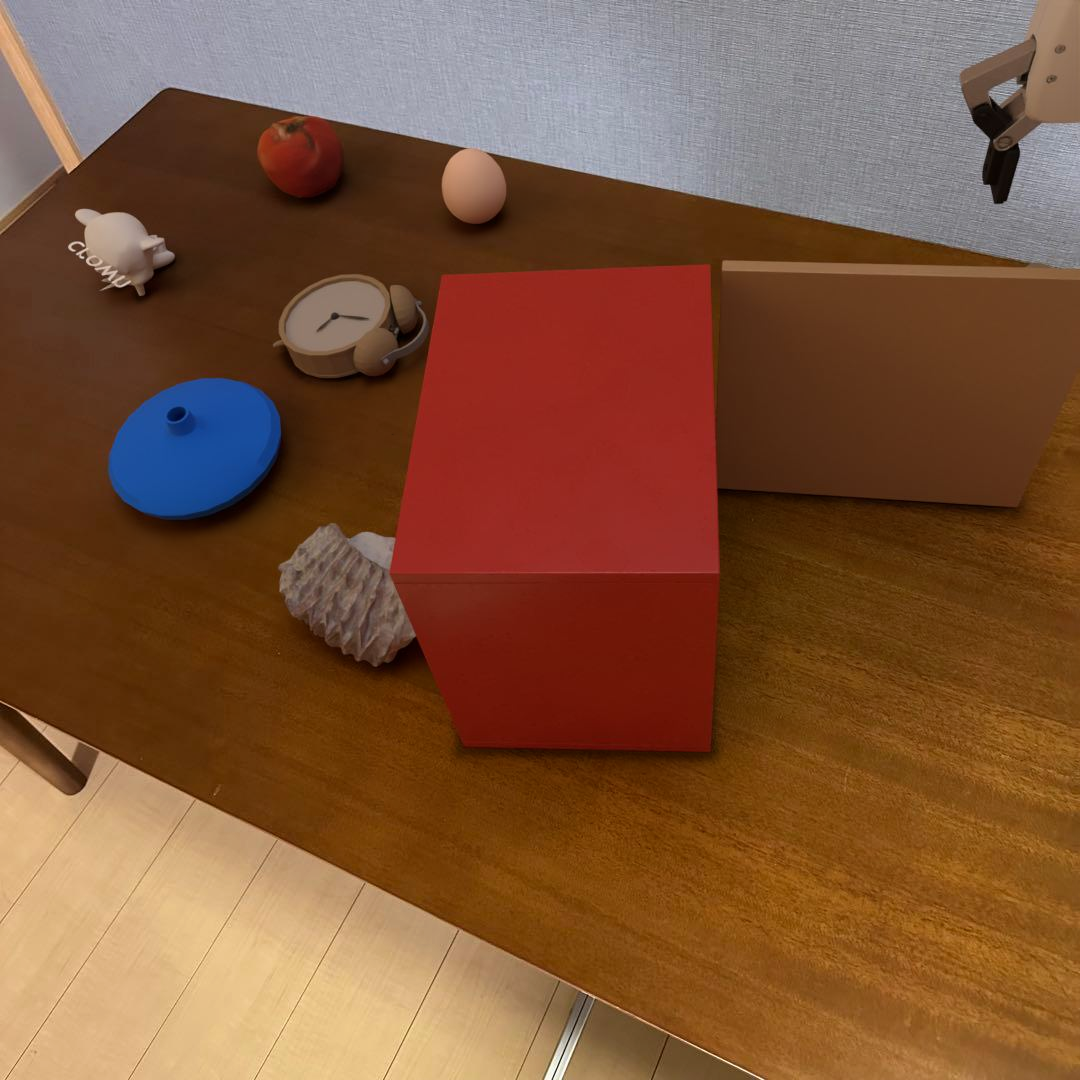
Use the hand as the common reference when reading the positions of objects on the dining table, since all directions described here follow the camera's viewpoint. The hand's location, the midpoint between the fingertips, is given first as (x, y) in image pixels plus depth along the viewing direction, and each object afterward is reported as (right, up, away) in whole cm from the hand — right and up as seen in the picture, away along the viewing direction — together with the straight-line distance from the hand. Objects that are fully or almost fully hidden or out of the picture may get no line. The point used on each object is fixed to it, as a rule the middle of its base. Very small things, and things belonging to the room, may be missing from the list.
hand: (1074, 188), depth 68 cm
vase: (-65, -16, +28) cm, 73 cm away
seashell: (-49, -29, +17) cm, 59 cm away
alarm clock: (-52, -4, +35) cm, 63 cm away
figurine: (-78, +4, +44) cm, 89 cm away
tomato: (-61, +17, +50) cm, 80 cm away
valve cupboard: (-31, -28, +15) cm, 44 cm away
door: (-8, -16, +19) cm, 27 cm away
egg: (-41, +11, +43) cm, 61 cm away
